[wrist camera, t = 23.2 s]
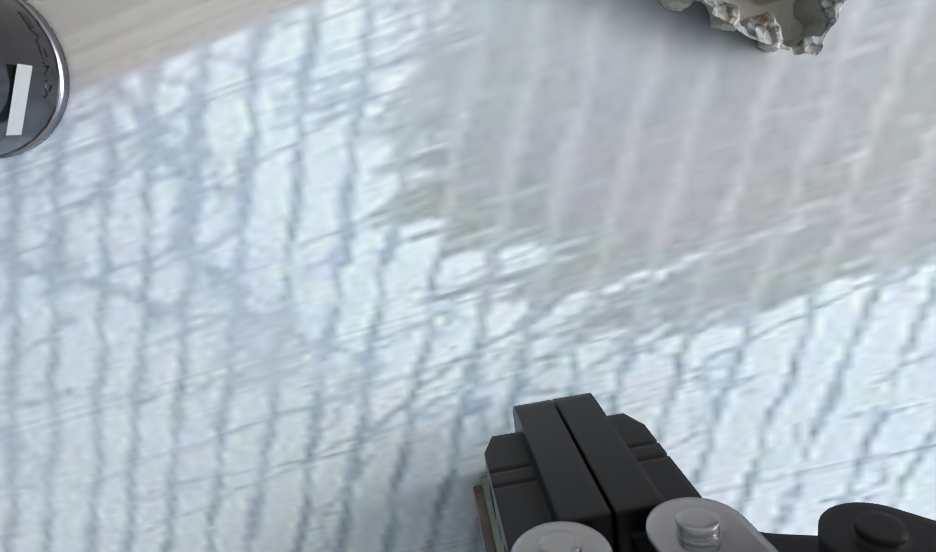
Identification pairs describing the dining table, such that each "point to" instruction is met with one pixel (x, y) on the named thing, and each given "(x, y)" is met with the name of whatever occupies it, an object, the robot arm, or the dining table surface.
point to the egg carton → (772, 21)
